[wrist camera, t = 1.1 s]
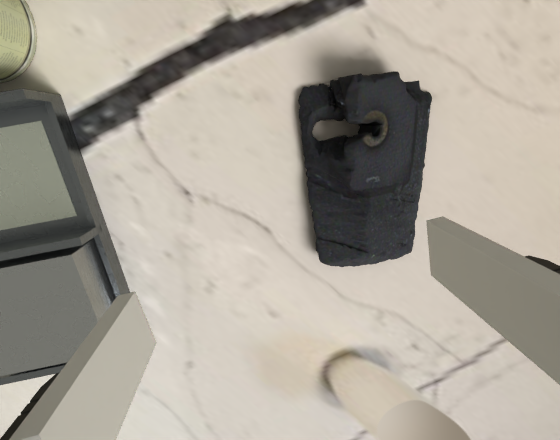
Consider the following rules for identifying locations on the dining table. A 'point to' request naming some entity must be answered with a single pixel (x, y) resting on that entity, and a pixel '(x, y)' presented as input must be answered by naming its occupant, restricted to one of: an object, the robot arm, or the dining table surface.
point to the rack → (48, 240)
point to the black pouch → (365, 166)
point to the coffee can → (16, 38)
